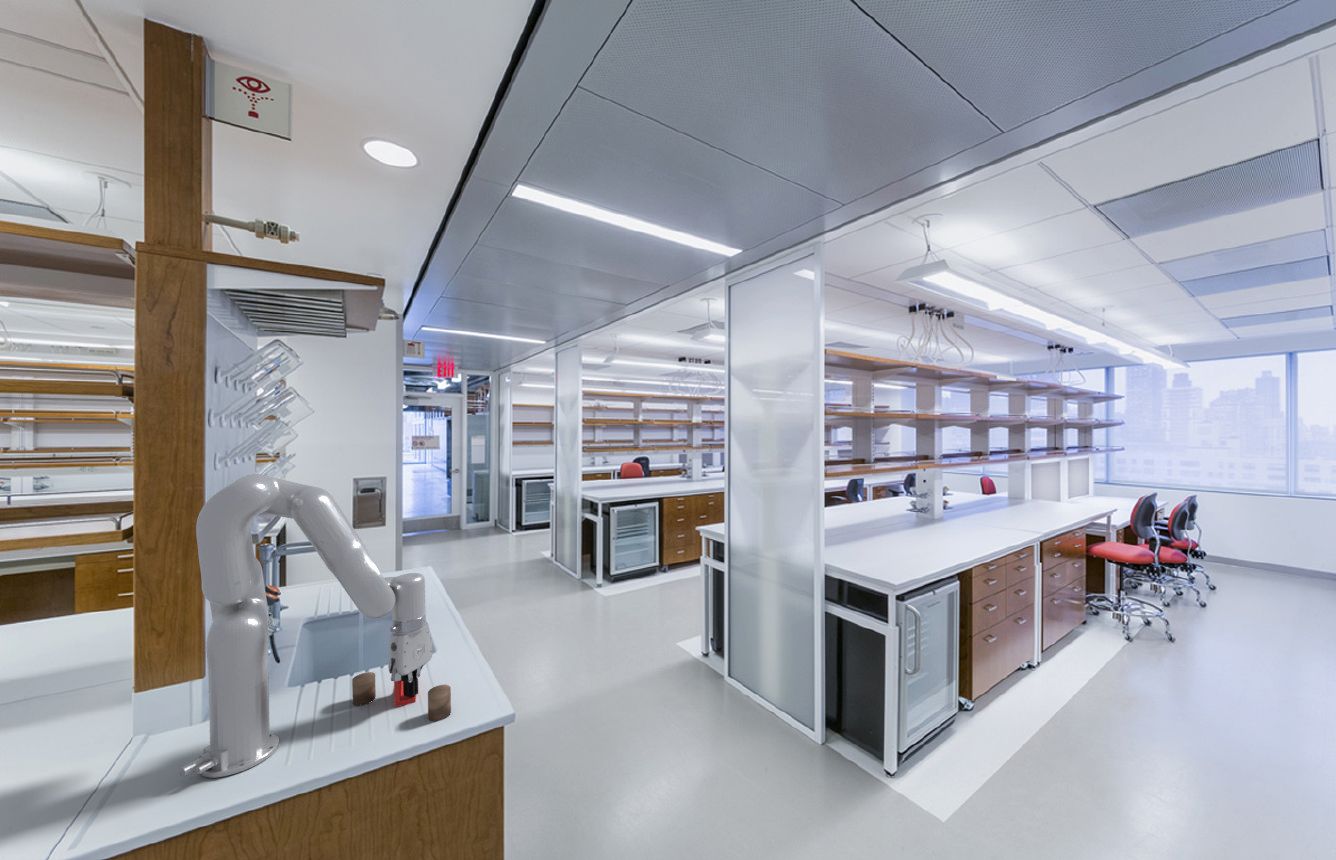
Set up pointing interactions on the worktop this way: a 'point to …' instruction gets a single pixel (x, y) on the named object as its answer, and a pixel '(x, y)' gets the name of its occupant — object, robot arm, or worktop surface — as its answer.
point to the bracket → (401, 695)
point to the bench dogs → (436, 696)
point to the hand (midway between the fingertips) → (410, 694)
